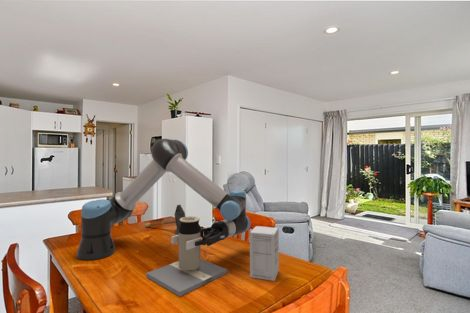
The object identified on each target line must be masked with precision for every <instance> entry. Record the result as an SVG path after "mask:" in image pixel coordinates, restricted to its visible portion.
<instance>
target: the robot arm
mask: <svg viewBox="0 0 470 313" xmlns="http://www.w3.org/2000/svg"><path fill="white" fill-rule="evenodd" d="M150 152H151V153H150V155H151V157H152V160H151V161H150V162H149V163H148V164H147V165H146V166H145V168H144V169H143V170H141V171H140V173H139V174H138V175H137V176H136V177H135V178H134V179H133V180H132V181H131V182H130V183H129V184H128V185H127V186H126V187H125V188H124V189H123V190H122V191H119V192H116V193H115V194H114V195H113V196H112V197H111V198H110V199H96V200H90V201H88V202H85V203H84V204H83V205H82V206H81V212H80V217H81V239H80V242H79V245H78V248H77V251H76V258H77V259H78V260H82V261H93V260H100V259H103V258H107V257H110V256H112V255H113V254H115V251H116V246H115V242H114V240H113V237H112V231H111V230H112V226H113V225H115V224H118V223H121V222H124V221H126V220H127V219H129V218H130V217H131V216H132V215H133V213H134V210H135V209H136V205H137V203H138V201H139V200H140V199H141V198H143V196H144V195H146V193H147V192H148V191H149V190H150V189H151V188H152V187H153V186H154V185H155V184H156V183H157V182H158V181H159V180H160V179H161V178H162V177H163V176H164V175H165V174H166V173H168V172H169V173H172V174H173V175H175V177H177V178H178V179H180V181H182V182H183V183H184V184H186V185H187V186H188V187H189V188H191V189H192V190H193V191H194V192H196V193H197V194H198V195H199V196H200V197H202V198H203V199H204V200H205V201H207V202H208V203H209V204H210V205H212V206H213V207H214V208H216V210H218V211H219V212H220V215H221V217H222V218H223V220H222V219H221V220H219V221H216V222H213V223H212V224H211V226H209V227H206V228H204V226H200V238H197V239H193V240H190V241H187V242H186V250H189V249H192V248H195V247H198V246H200V247H201V246H205V245H206V246H207V247H210V246H211V245H214V244H216V243H218V242H220V241H225V239H229V237H234V236H235V235H239V234H243V233H245V232H247V231H248V230H249V229H250V227H251V224H252V222H251V220H250V218H249V217H248V215H247V214H246V212H247V208H246V207H247V193H246V191H245V190H241V189H238V190H237V189H236V190H230V191H229V193H228V192H226V191H225V190H224V189H223V188H222V187H221V186H219V185H217V184H216V183H215V182H214V181H213V180H211V179H210V178H208V177H207V176H206V175H205V174H204V173H202V172H201V171H200V170H198V169H197V168H196V167H195V166H193V165H192V163H190V162H188V160H187V158H188V155H189V150H188V147H187V146H186V144H185V143H184V142H183V141H180V140H178V139H169V138H162V139H161V138H160V139H159V140H158V139H157V141H155V142H154V143H153V145H152V147H151V150H150ZM176 244H179V234H176V235H173V236H171V245H176Z"/></svg>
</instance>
